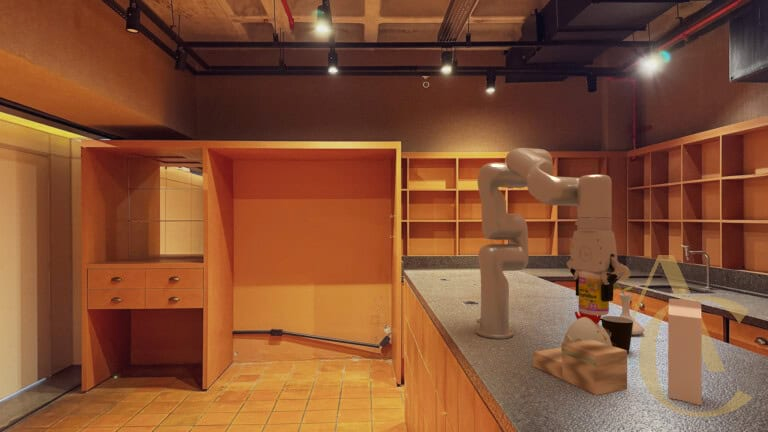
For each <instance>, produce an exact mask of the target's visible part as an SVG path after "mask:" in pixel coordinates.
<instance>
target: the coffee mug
mask: <svg viewBox="0 0 768 432" xmlns="http://www.w3.org/2000/svg"><path fill="white" fill-rule="evenodd" d="M600 321H601V325H602V327H603V328H604V329H605V330H606V332H607V334H608V335H609V337H610V340H611V343H612V346H614V347H617V348H620V349H624V350H627V356H629V354H630V348H631V342H632V328H633V320H631V319H628V318H624V317H619V316H618V315H617V316H615V315H602V316H601V318H600V320H599V322H598V323H600Z"/></svg>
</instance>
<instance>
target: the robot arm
mask: <svg viewBox="0 0 768 432" xmlns="http://www.w3.org/2000/svg"><path fill="white" fill-rule="evenodd" d="M553 164H554V163H553V157H552V154H551V153H549V151H547V150H546V149H542V148H529V147H518V148H514V149H511V150H509V152H508V153H507V155H506V156H505V162H496V161H495V162H488V163H486V164H484V165H482V167H481V168H480V169H479V171H478V175H477V188H478V192H479V197H480V203H481V204H480V205H481V231H482V235H483V238H485V239H487V240H489V241H490V240H491V241H508V243H490V244H485V245H483V246H481V248H480V249H479V251H478V255H477V258H478V265H479V271H480V318H479V319H476V323H477V324H479V327H477V328H476V330H475V334H477V335H478V336H481V337H484V338H487V339H500V340H501V339H502V340H503V339H504V340H505V339H509V338H513V337H514V331H513V330H512V329H509V328H510V325H509V324H510V320H509V318H510V316H509V315H510V284H509V281H508V279H507V277H506V276H505V274H504V272H513V271H522V270H524V269H525V268H527V265H528V263H529V231H528V224H527V221H526V219H525V218H524V217H523V216H522V215H521V214H518V213H508V212H507V200H506V198H505V196H504V194H503V193H502V191H501V190H500V188H508V189H510V188H511V189H523V188H527V191H528V192H529V193H528V194H530V195H531V196H532V197H534V198H535V199H536V200H538V201H539V202H541V203H543V204H545V205H550V206H561V207H562V206H563V207H565V206H567V207H568V206H569V207H576V209H577V210H576V212H577V213H576V215H577V218H576V219H577V220H576V221H574V225H575V226H577V227H576V229H577V230H574V232H573V234H572V240H571V249H570V259H569V260H567V262H566V266H567V268H568V269H569V271H570V273H571V275H572V278H573V280H575V296H576V297H579V272H580V271H588V272H594V273H600V275H601V277H602V280H603V283H604V284H602V285H601V300H602V301H604V302H606V301H609V302H613V301H614V290H613V284H615V285H617V281H618V280H619V279H620V277H621V276H622V275H623V274H624V273H625V271H626V270H625V268H624V267H623V266H624V265H623V266H622V265H621V264H622V263H621V262H619V261H618V252H617V251H618V250H617V243H616V237H615V233H614V231H612V225H613V224H612V223H613V222H612V221H613V220H612V212H613V211H612V206H613V205H612V199H613V195H612V192H613V191H612V185H613V183H612V178H611V177H610V176H609V175H607V174H587V175H582V176H580V177H572V176H571V177H570V176H554V173H555V167H554V165H553ZM613 272H614V274H613ZM607 275H608V277H607ZM618 282H619V281H618Z"/></svg>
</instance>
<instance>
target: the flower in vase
mask: <svg viewBox="0 0 768 432" xmlns="http://www.w3.org/2000/svg"><path fill="white" fill-rule="evenodd" d="M620 264H621V265H622V266H623V267H624V268H625V270H626V271H625V273H624V274H623V275H622V276H621V277H620V279H619V280H618V281H616V284H613V291H615V290H617V289H618V288H619V290H620V291H621V293H617V295H618V297H619V299H620V302H621V314H620V315H619V316H618V317H624V318H628V319H631V320H633V328H632V335H641V334H643V333H644V332H645V328H644V327H643V325H642V324H640V323H639V322H638V321H636V320H635V319H634V318H633V317H632V316H631V313H630V304H631V302H632V301H631V300H632V299H633V297H634V294H630V293H624V292H626V291H629V290H632V289H633V288H634V285H631V286H627V287H624V289H622V288H621V287H620V285H619V282H621V281H626V280H628V279H629V278H630V277H631V274H632V273H631V270H630V268H628V266H627V265H624V264H623V263H620ZM613 274H614V272H613ZM632 335H631V336H632Z"/></svg>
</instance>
